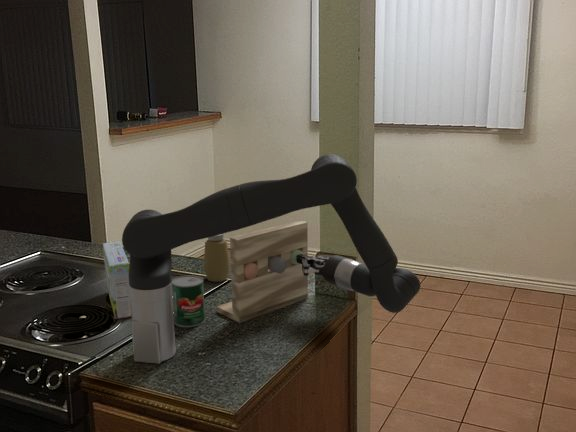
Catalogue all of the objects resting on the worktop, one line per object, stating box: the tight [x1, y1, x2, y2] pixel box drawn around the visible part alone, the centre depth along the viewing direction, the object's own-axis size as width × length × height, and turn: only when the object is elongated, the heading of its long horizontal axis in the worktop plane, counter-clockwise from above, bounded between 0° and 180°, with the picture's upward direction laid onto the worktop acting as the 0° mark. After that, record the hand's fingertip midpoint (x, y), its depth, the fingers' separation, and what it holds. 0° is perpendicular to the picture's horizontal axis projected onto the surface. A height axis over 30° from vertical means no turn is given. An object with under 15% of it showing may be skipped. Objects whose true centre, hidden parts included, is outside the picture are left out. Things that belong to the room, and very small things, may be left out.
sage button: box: [291, 249, 304, 265], centre depth 171 cm, size 4×4×4 cm
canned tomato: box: [171, 274, 206, 328], centre depth 161 cm, size 8×8×11 cm
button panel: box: [215, 219, 309, 324], centre depth 169 cm, size 10×24×22 cm, turn 133°
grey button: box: [268, 256, 287, 274], centre depth 165 cm, size 4×4×4 cm
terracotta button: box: [244, 262, 258, 279], centre depth 161 cm, size 4×4×4 cm
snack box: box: [102, 240, 132, 320], centre depth 172 cm, size 21×6×15 cm, turn 21°
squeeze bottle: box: [203, 233, 231, 283], centre depth 190 cm, size 8×8×18 cm
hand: (298, 258), depth 170 cm, fingers closed
